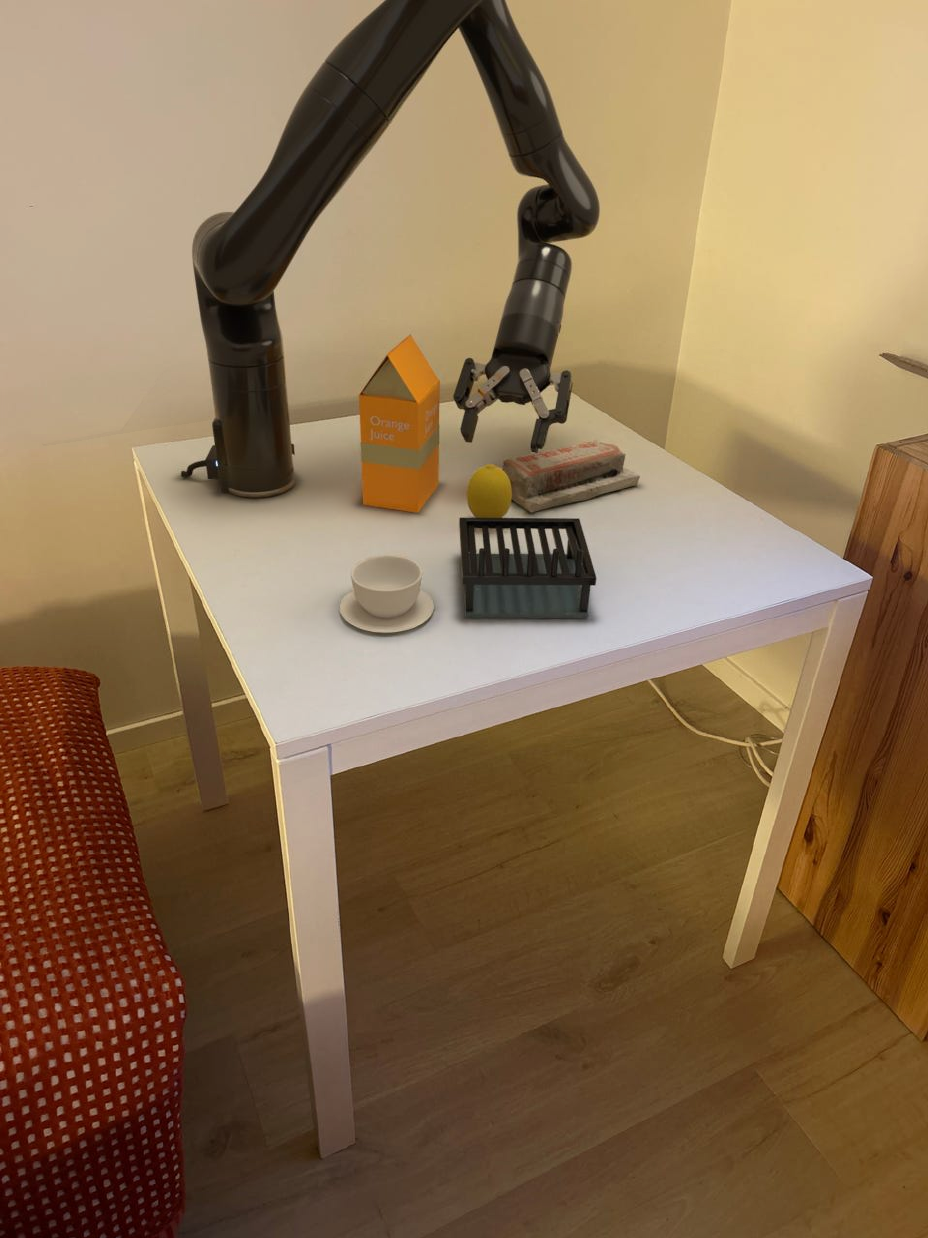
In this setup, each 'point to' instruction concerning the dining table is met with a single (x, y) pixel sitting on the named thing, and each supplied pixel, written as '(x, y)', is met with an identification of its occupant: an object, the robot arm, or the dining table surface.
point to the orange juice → (400, 431)
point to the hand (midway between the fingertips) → (500, 445)
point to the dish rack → (525, 570)
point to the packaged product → (567, 475)
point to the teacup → (386, 595)
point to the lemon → (489, 492)
